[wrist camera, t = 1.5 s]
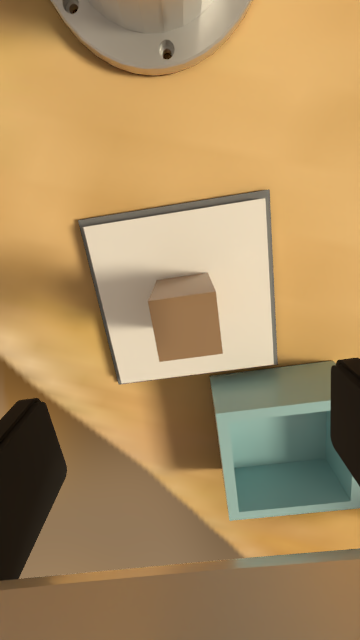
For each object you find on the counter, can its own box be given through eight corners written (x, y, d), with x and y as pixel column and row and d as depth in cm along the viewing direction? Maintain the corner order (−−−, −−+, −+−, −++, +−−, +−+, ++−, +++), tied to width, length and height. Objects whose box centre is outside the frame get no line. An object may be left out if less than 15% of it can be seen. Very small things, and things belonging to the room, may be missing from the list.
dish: (209, 375, 25) (215, 413, 20) (332, 360, 24) (368, 395, 19) (221, 469, 28) (229, 520, 23) (330, 457, 27) (361, 507, 23)
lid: (86, 226, 20) (47, 231, 15) (262, 198, 20) (296, 191, 14) (123, 378, 24) (104, 430, 18) (270, 359, 24) (300, 407, 18)
